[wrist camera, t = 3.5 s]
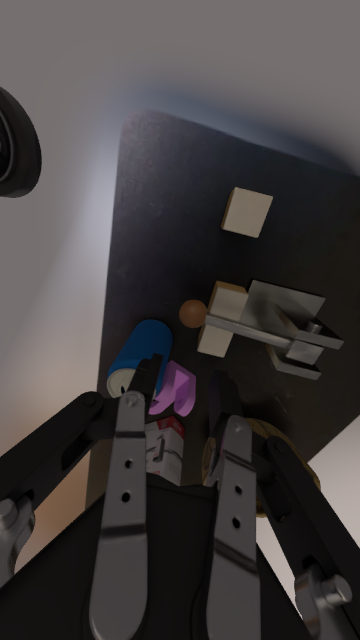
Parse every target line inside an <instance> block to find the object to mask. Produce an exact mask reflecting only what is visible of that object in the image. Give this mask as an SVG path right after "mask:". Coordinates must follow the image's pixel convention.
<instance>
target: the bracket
mask: <svg viewBox="0 0 360 640" xmlns="http://www.w3.org/2000/svg"><path fill="white" fill-rule="evenodd" d="M195 387H196V376H194V375H193V374H192V373H190V372H189V371H187V370H186V369H184V368H183V367H181V366H180V365H178V364H177V363H175V362H174V361H172V360H171V361H170V362H169V363H168V364H167V366H166V370H165V374H164V378H163V382H162V386H161V390H160V392H159V393H158V394H157V395H156V396H155V397H154V399H155V400H156V401H155V402H152V403H151V406H150V410H149V414H158V413H161V412H162V411H163V410H164V409H166V408H167V407H168V406H169V405H170V404H171V403H172V402H174V401H175V403H174V411H175V412H176V413H178V414H180V415H181V416H186V415H187V414H188V413H189V412H190V411H191V409H192V408H193V405H194V402H195Z"/></svg>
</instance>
